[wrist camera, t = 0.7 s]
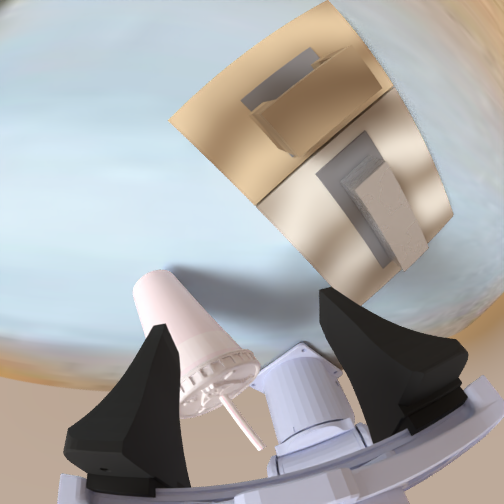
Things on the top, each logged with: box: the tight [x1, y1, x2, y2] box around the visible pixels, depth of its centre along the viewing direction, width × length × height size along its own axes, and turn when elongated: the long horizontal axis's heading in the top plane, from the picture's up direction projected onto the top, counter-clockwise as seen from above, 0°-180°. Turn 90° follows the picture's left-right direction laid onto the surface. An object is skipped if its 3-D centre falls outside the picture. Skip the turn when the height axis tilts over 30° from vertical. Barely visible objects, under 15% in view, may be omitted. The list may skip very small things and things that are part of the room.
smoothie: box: [133, 270, 266, 451], centre depth 17 cm, size 6×6×14 cm
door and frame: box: [168, 0, 453, 306], centre depth 18 cm, size 22×14×6 cm, turn 42°
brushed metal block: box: [340, 156, 429, 272], centre depth 19 cm, size 9×3×2 cm, turn 42°
